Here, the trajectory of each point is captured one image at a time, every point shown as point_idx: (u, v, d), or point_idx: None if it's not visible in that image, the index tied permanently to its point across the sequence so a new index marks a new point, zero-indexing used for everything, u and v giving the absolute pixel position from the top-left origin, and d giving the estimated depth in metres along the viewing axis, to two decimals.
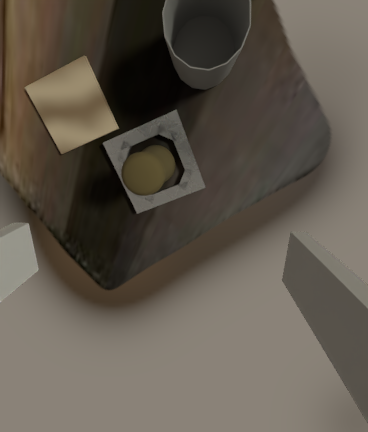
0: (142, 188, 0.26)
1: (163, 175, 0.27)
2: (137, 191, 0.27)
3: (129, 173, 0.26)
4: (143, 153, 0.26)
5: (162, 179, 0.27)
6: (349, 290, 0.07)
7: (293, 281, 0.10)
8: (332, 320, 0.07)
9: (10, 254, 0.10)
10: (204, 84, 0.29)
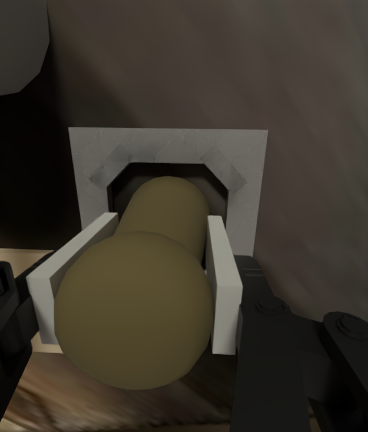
0: (172, 360, 0.06)
1: (162, 257, 0.07)
2: (175, 375, 0.07)
3: (100, 373, 0.07)
4: (60, 287, 0.07)
5: (174, 270, 0.06)
6: (213, 253, 0.09)
7: (206, 256, 0.13)
8: (210, 279, 0.10)
9: None
10: (3, 16, 0.10)
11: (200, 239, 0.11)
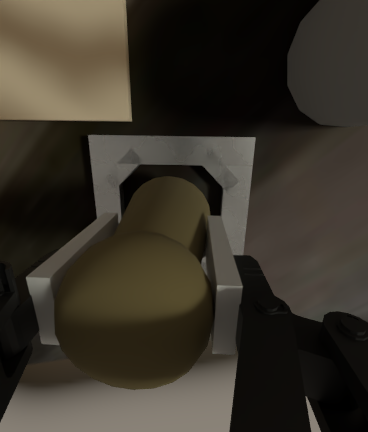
0: (172, 360, 0.06)
1: (162, 257, 0.07)
2: (175, 374, 0.07)
3: (100, 372, 0.07)
4: (60, 286, 0.07)
5: (174, 269, 0.06)
6: (213, 253, 0.09)
7: (206, 256, 0.13)
8: (210, 279, 0.10)
9: None
10: (346, 118, 0.13)
11: (200, 239, 0.11)
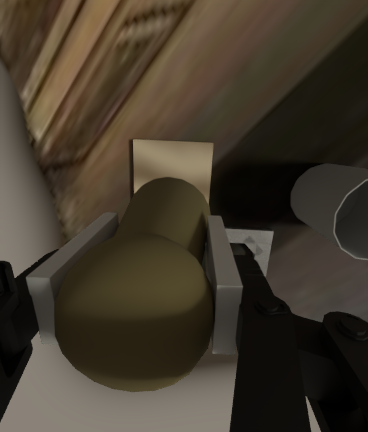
0: (173, 362, 0.06)
1: (163, 259, 0.07)
2: (175, 377, 0.07)
3: (100, 375, 0.07)
4: (60, 289, 0.07)
5: (175, 271, 0.06)
6: (213, 253, 0.09)
7: (206, 256, 0.13)
8: (210, 279, 0.10)
9: None
10: None
11: (200, 240, 0.11)
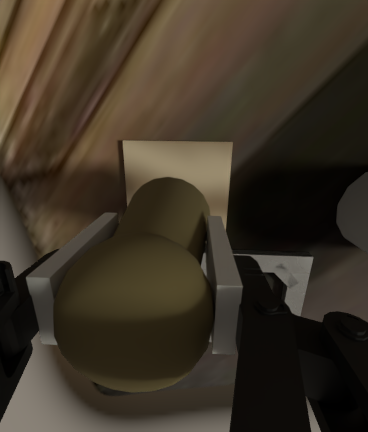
0: (173, 362, 0.06)
1: (162, 259, 0.07)
2: (175, 377, 0.07)
3: (99, 375, 0.07)
4: (59, 289, 0.07)
5: (174, 272, 0.06)
6: (213, 253, 0.09)
7: (206, 256, 0.13)
8: (210, 279, 0.10)
9: None
10: None
11: (200, 240, 0.11)
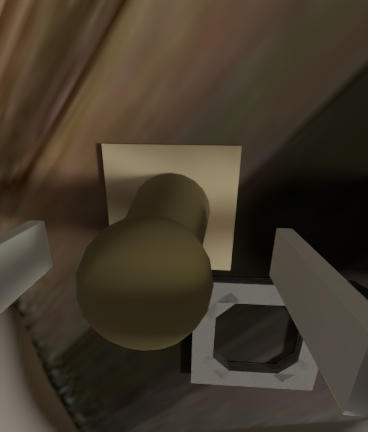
0: (178, 319, 0.08)
1: (169, 233, 0.08)
2: (179, 334, 0.08)
3: (116, 332, 0.08)
4: (81, 260, 0.08)
5: (179, 243, 0.08)
6: (323, 281, 0.07)
7: (278, 275, 0.11)
8: (310, 310, 0.08)
9: (28, 250, 0.11)
10: None
11: (200, 227, 0.12)
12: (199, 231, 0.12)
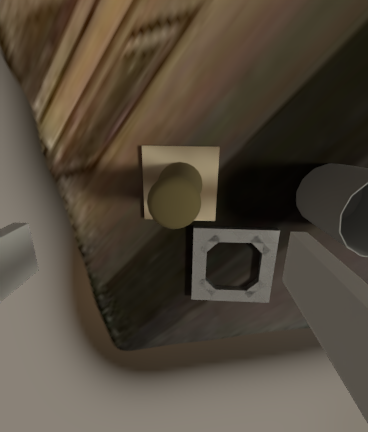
0: (187, 211, 0.21)
1: (184, 179, 0.21)
2: (188, 218, 0.21)
3: (164, 217, 0.21)
4: (150, 191, 0.21)
5: (188, 183, 0.21)
6: (349, 290, 0.07)
7: (293, 281, 0.10)
8: (332, 320, 0.07)
9: (10, 254, 0.10)
10: None
11: (196, 186, 0.26)
12: None
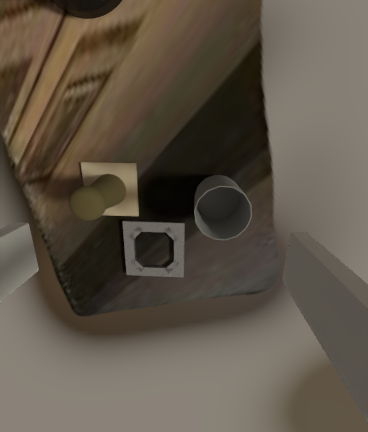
0: (92, 209, 0.33)
1: (91, 189, 0.33)
2: (94, 213, 0.33)
3: (78, 213, 0.33)
4: (70, 196, 0.33)
5: (93, 191, 0.33)
6: (349, 290, 0.07)
7: (293, 281, 0.10)
8: (332, 320, 0.07)
9: (10, 254, 0.10)
10: (209, 223, 0.41)
11: (111, 192, 0.38)
12: (109, 193, 0.37)
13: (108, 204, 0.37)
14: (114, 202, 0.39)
